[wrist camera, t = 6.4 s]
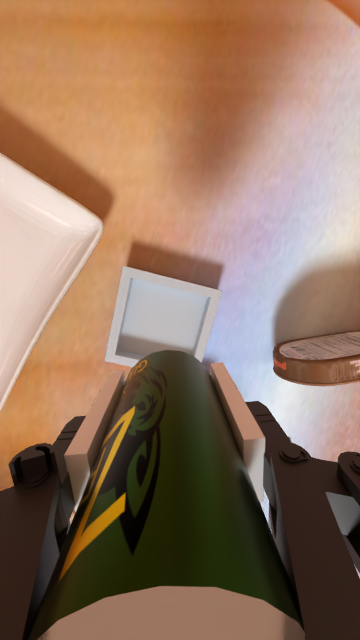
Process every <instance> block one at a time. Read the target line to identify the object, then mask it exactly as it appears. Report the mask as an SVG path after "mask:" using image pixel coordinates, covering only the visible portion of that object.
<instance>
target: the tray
mask: <svg viewBox="0 0 360 640" xmlns="http://www.w3.org/2000/svg"><path fill="white" fill-rule="evenodd" d="M221 293H222V291H221V290H218V289H215V288H211V287H207V286H203V285H199V284H195V283H191V282H187V281H184V280H180V279H176V278H172V277H168V276H164V275H160V274H156V273H152V272H148V271H144V270H140V269H136V268H132V267H128V266H123V270H122V275H121V280H120V285H119V290H118V295H117V300H116V305H115V310H114V316H113V321H112V326H111V331H110V336H109V341H108V346H107V351H106V356H105V361H107V362H111V363H116V364H121V365H125V366H130V367H134V366H135V365H136V364H137V362H138V361H139V360H140V359H142V358H144V357H146V356H147V355H149V354H151V353H153V352H158V351H163V350H176V351H182V352H185V353H187V354H190V355H192V356H194V357H195V358H197V359H198V360H199V361H200V362H201V363H202V359H203V356H204V352H205V349H206V345H207V342H208V339H209V335H210V332H211V328H212V325H213V321H214V318H215V314H216V311H217V307H218V304H219V300H220V297H221Z"/></svg>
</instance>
